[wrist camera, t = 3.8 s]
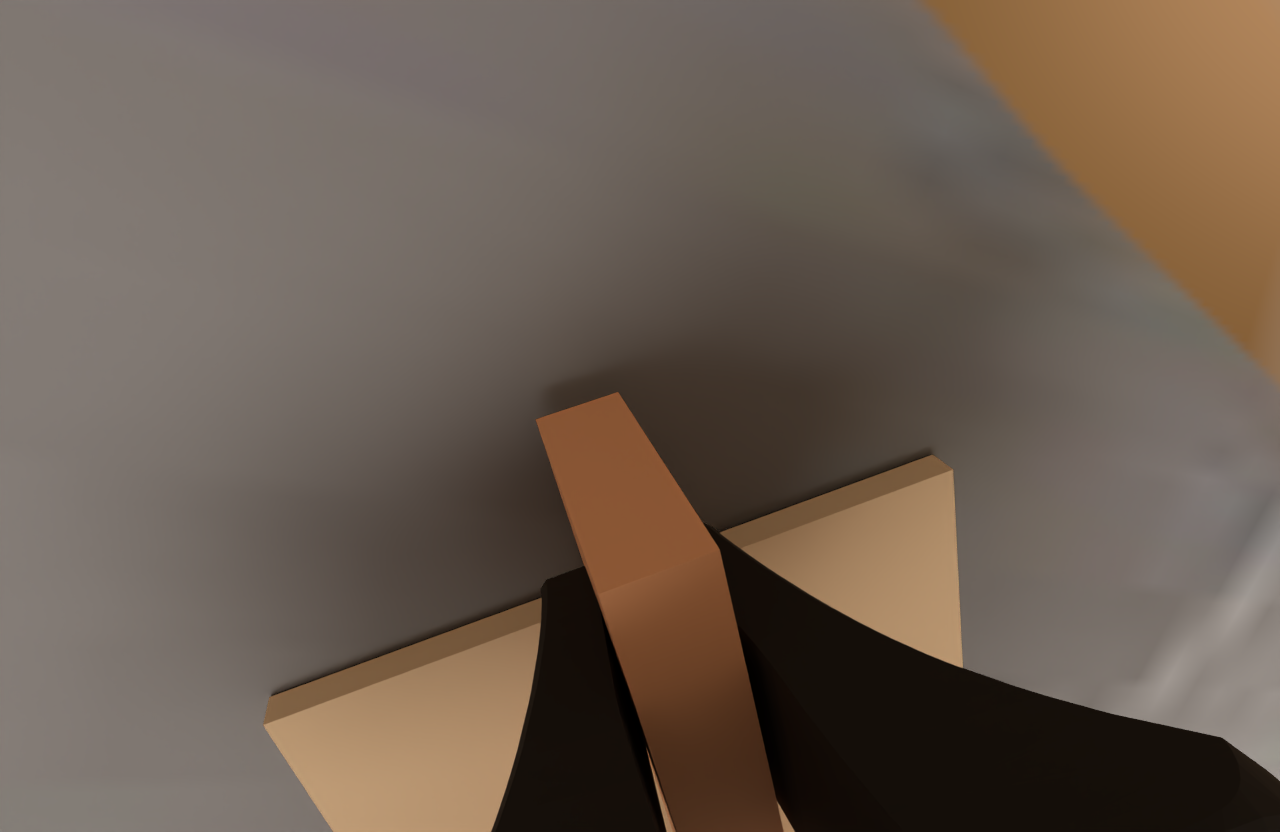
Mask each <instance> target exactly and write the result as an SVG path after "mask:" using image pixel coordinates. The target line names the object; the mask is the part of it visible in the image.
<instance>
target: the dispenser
mask: <svg viewBox="0 0 1280 832" xmlns="http://www.w3.org/2000/svg"><path fill="white" fill-rule="evenodd" d="M719 533H720V534H722V535H723V536H724V537H725V538H727V539H728V540H729V541H731V542H732V543H733V544H735V545H736V546H737V547H739V548H740V549H742V550H743V551H744V552H746V553H747V554H749V555H750V556H751V557H753V558H754V559H756V560H757V561H759V562H760V563H762V564H763V565H764V566H766V567H767V568H769V569H770V570H772V571H773V572H775V573H776V574H778V575H779V576H781V577H783V578H784V579H786V580H787V581H789V582H791V583H792V584H794V585H795V586H797V587H799V588H800V589H802V590H803V591H805V592H807V593H808V594H810V595H812V596H813V597H815V598H817V599H818V600H820V601H822V602H824V603H825V604H827V605H829V606H830V607H832V608H834V609H836V610H838V611H840V612H841V613H843V614H845V615H847V616H849V617H851V618H852V619H854V620H856V621H858V622H860V623H862V624H864V625H866V626H868V627H870V628H872V629H874V630H876V631H878V632H880V633H882V634H884V635H886V636H888V637H890V638H892V639H894V640H896V641H899V642H901V643H903V644H905V645H908V646H910V647H912V648H914V649H916V650H919V651H921V652H923V653H925V654H928V655H930V656H933V657H935V658H938V659H940V660H943V661H945V662H948V663H950V664H953V665H955V666H958V667H961V668H963V663H962V642H961V621H960V601H959V580H958V559H957V539H956V518H955V498H954V477H953V469H952V468H950V467H949V466H948V465H946V464H945V463H944V462H942V461H941V460H939V459H938V458H937V457H935V456H934V455H930V456H927V457H924V458H922V459H919V460H916V461H914V462H911V463H908V464H905V465H903V466H900V467H897V468H894V469H892V470H889V471H886V472H883V473H881V474H878V475H875V476H873V477H870V478H867V479H864V480H862V481H859V482H856V483H853V484H851V485H848V486H845V487H842V488H840V489H837V490H834V491H832V492H829V493H826V494H823V495H821V496H818V497H815V498H812V499H810V500H807V501H804V502H801V503H799V504H796V505H793V506H791V507H788V508H785V509H782V510H780V511H777V512H774V513H771V514H769V515H766V516H763V517H760V518H758V519H755V520H752V521H750V522H747V523H744V524H741V525H739V526H736V527H733V528H730V529H728V530H725V531H722V532H719ZM541 609H542V598H539V599H536V600H534V601H531V602H528V603H525V604H523V605H520V606H517V607H514V608H512V609H509V610H506V611H504V612H501V613H498V614H495V615H493V616H490V617H487V618H484V619H482V620H479V621H476V622H473V623H471V624H468V625H465V626H463V627H460V628H457V629H454V630H452V631H449V632H446V633H443V634H441V635H438V636H435V637H432V638H430V639H427V640H424V641H422V642H419V643H416V644H413V645H411V646H408V647H405V648H402V649H400V650H397V651H394V652H391V653H389V654H386V655H383V656H381V657H378V658H375V659H372V660H370V661H367V662H364V663H361V664H359V665H356V666H353V667H350V668H348V669H345V670H342V671H340V672H337V673H334V674H331V675H329V676H326V677H323V678H320V679H318V680H315V681H312V682H309V683H307V684H304V685H301V686H299V687H296V688H293V689H290V690H288V691H285V692H282V693H279V694H277V695H274V696H271V697H269V701H268V706H267V710H266V715H265V719H264V724H263V726H264V727H265V729H266V730H267V732H268V733H269V735H270V736H271V738H272V739H273V741H274V742H275V744H276V745H277V747H278V748H279V750H280V752H281V753H282V755H283V756H284V758H285V759H286V761H287V762H288V764H289V765H290V767H291V768H292V770H293V771H294V773H295V774H296V776H297V777H298V779H299V780H300V782H301V783H302V785H303V786H304V788H305V790H306V791H307V793H308V794H309V796H310V797H311V799H312V800H313V802H314V803H315V805H316V806H317V808H318V809H319V811H320V812H321V814H322V815H323V817H324V818H325V820H326V821H327V823H328V824H329V826H330V828H331V829H332V831H333V832H491V831H492V828H493V825H494V822H495V820H496V817H497V814H498V811H499V808H500V805H501V802H502V799H503V796H504V793H505V790H506V787H507V783H508V780H509V777H510V774H511V770H512V767H513V763H514V760H515V756H516V753H517V749H518V745H519V741H520V737H521V732H522V728H523V724H524V720H525V716H526V712H527V708H528V703H529V699H530V694H531V688H532V682H533V676H534V671H535V665H536V659H537V653H538V645H539V636H540V626H541ZM651 769H652V768H651ZM652 773H653V771H652ZM653 777H654V774H653ZM654 782H655V786H656V790H657V794H658V798H659V802H660V806H661V811H662V815H663V819H664V823H665V827H666V831H667V832H673V831H672V828H671V825H670V822H669V819H668V816H667V813H666V810H665V807H664V804H663V801H662V798H661V795H660V792H659V789H658V786H657V783H656V780H655V777H654ZM777 804H778V802H777ZM778 808H779V813H780V817H781V822H782V826H783V830H784V832H795V831H794V829H793V828H792V826H791V824H790V823H789V821H788V819H787V817H786V816H785V814H784V812H783V811H782V809H781V807H780V805H779V804H778Z"/></svg>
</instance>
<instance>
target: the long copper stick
mask: <svg viewBox="0 0 1280 832" xmlns="http://www.w3.org/2000/svg"><path fill="white" fill-rule="evenodd" d="M536 422H537V425H538V428H539V431H540V434H541V437H542V440H543V443H544V446H545V449H546V452H547V455H548V458H549V461H550V464H551V467H552V470H553V473H554V476H555V479H556V482H557V485H558V488H559V491H560V494H561V497H562V500H563V503H564V506H565V509H566V512H567V515H568V518H569V521H570V524H571V527H572V530H573V533H574V536H575V539H576V542H577V545H578V548H579V551H580V554H581V557H582V560H583V563H584V566H585V567H586V570H587V573H588V576H589V578H590V581H591V584H592V587H593V589H594V592H595V595H596V598H597V600H598V603H599V606H600V609H601V612H602V615H603V618H604V621H605V624H606V627H607V630H608V633H609V636H610V639H611V642H612V645H613V648H614V651H615V654H616V657H617V660H618V663H619V666H620V669H621V672H622V675H623V678H624V681H625V684H626V687H627V690H628V694H629V697H630V700H631V703H632V706H633V709H634V712H635V715H636V718H637V721H638V724H639V727H640V730H641V733H642V736H643V739H644V742H645V745H646V749H647V753H648V757H649V761H650V765H651V768H652V771H653V774H654V777H655V780H656V783H657V786H658V789H659V792H660V795H661V798H662V801H663V804H664V807H665V810H666V813H667V816H668V819H669V822H670V825H671V828H672V831H673V832H784V830H783V826H782V822H781V817H780V813H779V808H778V804H777V800H776V795H775V791H774V786H773V782H772V778H771V773H770V769H769V764H768V760H767V756H766V751H765V747H764V742H763V738H762V734H761V729H760V725H759V720H758V716H757V712H756V707H755V703H754V698H753V694H752V690H751V685H750V681H749V676H748V672H747V668H746V663H745V659H744V654H743V650H742V646H741V641H740V637H739V632H738V628H737V623H736V619H735V615H734V610H733V606H732V601H731V597H730V593H729V588H728V584H727V579H726V575H725V571H724V566H723V562H722V557H721V553H720V549H719V548H718V546H717V544H716V543H715V541H714V540H713V538H712V537H711V535H710V534H709V532H708V531H707V529H706V527H705V526H704V524H703V523H702V521H701V520H700V518H699V517H698V515H697V514H696V512H695V510H694V509H693V507H692V506H691V504H690V503H689V501H688V500H687V498H686V496H685V495H684V493H683V492H682V490H681V489H680V487H679V486H678V484H677V483H676V481H675V479H674V478H673V476H672V475H671V473H670V472H669V470H668V469H667V467H666V465H665V464H664V462H663V461H662V459H661V458H660V456H659V455H658V453H657V452H656V450H655V448H654V447H653V445H652V444H651V442H650V441H649V439H648V438H647V436H646V435H645V433H644V431H643V430H642V428H641V427H640V425H639V424H638V422H637V421H636V419H635V417H634V416H633V414H632V413H631V411H630V410H629V408H628V407H627V405H626V404H625V402H624V400H623V399H622V397H621V396H620V394H619V393H618V392H616V393H613V394H610V395H607V396H604V397H601V398H598V399H595V400H592V401H589V402H586V403H583V404H580V405H577V406H574V407H571V408H568V409H565V410H562V411H559V412H556V413H553V414H550V415H547V416H544V417H541V418H538V419H536Z"/></svg>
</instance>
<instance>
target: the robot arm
mask: <svg viewBox="0 0 1280 832" xmlns="http://www.w3.org/2000/svg"><path fill="white" fill-rule="evenodd" d="M703 524H704V526H705V527H706V529H707V531H708V532H709V534H710V535H711V537H712V538H713V540H714V541H715V543H716V544H717V546H718V548H719V549H720V553H721V557H722V562H723V566H724V571H725V575H726V579H727V584H728V588H729V593H730V597H731V601H732V606H733V610H734V615H735V619H736V623H737V628H738V632H739V637H740V641H741V646H742V650H743V654H744V659H745V663H746V668H747V672H748V676H749V681H750V685H751V690H752V694H753V698H754V703H755V707H756V712H757V716H758V720H759V725H760V729H761V734H762V738H763V742H764V747H765V751H766V756H767V760H768V764H769V769H770V773H771V778H772V782H773V786H774V791H775V795H776V800H777V802H778V804H779V805H780V807H781V809H782V811H783V812H784V814H785V816H786V817H787V819H788V821H789V823H790V824H791V826H792V828H793V829H794V831H795V832H1280V781H1279V780H1278V779H1277V778H1275V777H1274V776H1273V775H1272V774H1271V773H1269V772H1268V771H1267V770H1266V769H1264V768H1263V767H1262V766H1260V765H1259V764H1257V763H1256V762H1255V761H1253V760H1252V759H1250V758H1249V757H1248V756H1246V755H1245V754H1243V753H1242V752H1241V751H1239V750H1238V749H1237V748H1235V747H1234V746H1232V745H1231V744H1230V743H1228V742H1227V741H1226V740H1224V739H1223V738H1221V737H1216V736H1212V735H1207V734H1202V733H1198V732H1193V731H1189V730H1184V729H1179V728H1175V727H1170V726H1165V725H1161V724H1156V723H1151V722H1147V721H1142V720H1137V719H1133V718H1128V717H1123V716H1119V715H1114V714H1110V713H1106V712H1103V711H1099V710H1095V709H1091V708H1088V707H1084V706H1081V705H1077V704H1073V703H1070V702H1066V701H1062V700H1059V699H1055V698H1052V697H1048V696H1044V695H1041V694H1038V693H1035V692H1032V691H1028V690H1025V689H1022V688H1019V687H1016V686H1013V685H1010V684H1007V683H1004V682H1001V681H998V680H995V679H993V678H990V677H987V676H984V675H981V674H978V673H975V672H973V671H970V670H967V669H964V668H961V667H958V666H955V665H953V664H950V663H948V662H945V661H943V660H940V659H938V658H935V657H933V656H930V655H928V654H925V653H923V652H921V651H919V650H916V649H914V648H912V647H910V646H908V645H905V644H903V643H901V642H899V641H896V640H894V639H892V638H890V637H888V636H886V635H884V634H882V633H880V632H878V631H876V630H874V629H872V628H870V627H868V626H866V625H864V624H862V623H860V622H858V621H856V620H854V619H852V618H851V617H849V616H847V615H845V614H843V613H841V612H840V611H838V610H836V609H834V608H832V607H830V606H829V605H827V604H825V603H824V602H822V601H820V600H818V599H817V598H815V597H813V596H812V595H810V594H808V593H807V592H805V591H803V590H802V589H800V588H799V587H797V586H795V585H794V584H792V583H791V582H789V581H787V580H786V579H784V578H783V577H781V576H779V575H778V574H776V573H775V572H773V571H772V570H770V569H769V568H767V567H766V566H764V565H763V564H762V563H760V562H759V561H757V560H756V559H754V558H753V557H751V556H750V555H749V554H747V553H746V552H744V551H743V550H742V549H740V548H739V547H737V546H736V545H735V544H733V543H732V542H731V541H729V540H728V539H727V538H725V537H724V536H723V535H722V534H720V533H719V532H718V531H716V530H715V529H714V528H713V527H711V526H709V525H707V524H705V523H703ZM541 597H542V609H541V626H540V636H539V645H538V653H537V659H536V665H535V671H534V676H533V682H532V688H531V694H530V699H529V703H528V708H527V712H526V716H525V720H524V724H523V728H522V732H521V737H520V741H519V745H518V749H517V753H516V756H515V760H514V763H513V767H512V770H511V774H510V777H509V780H508V783H507V787H506V790H505V793H504V796H503V799H502V802H501V805H500V808H499V811H498V814H497V817H496V820H495V822H494V825H493V828H492V831H491V832H667V831H666V827H665V823H664V819H663V815H662V811H661V806H660V802H659V798H658V794H657V790H656V786H655V782H654V777H653V773H652V769H651V765H650V761H649V757H648V753H647V749H646V745H645V742H644V739H643V736H642V733H641V730H640V727H639V724H638V721H637V718H636V715H635V712H634V709H633V706H632V703H631V700H630V697H629V694H628V690H627V687H626V684H625V681H624V678H623V675H622V672H621V669H620V666H619V663H618V660H617V657H616V654H615V651H614V648H613V645H612V642H611V639H610V636H609V633H608V630H607V627H606V624H605V621H604V618H603V615H602V612H601V609H600V606H599V603H598V600H597V598H596V595H595V592H594V589H593V587H592V584H591V581H590V578H589V576H588V573H587V570H586V567H585V566H583V567H581V568H578V569H575V570H572V571H569V572H567V573H564V574H561V575H558V576H556V577H553V578H550V579H547V580H546V581H545V583H544V585H543V586H542V588H541Z"/></svg>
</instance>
